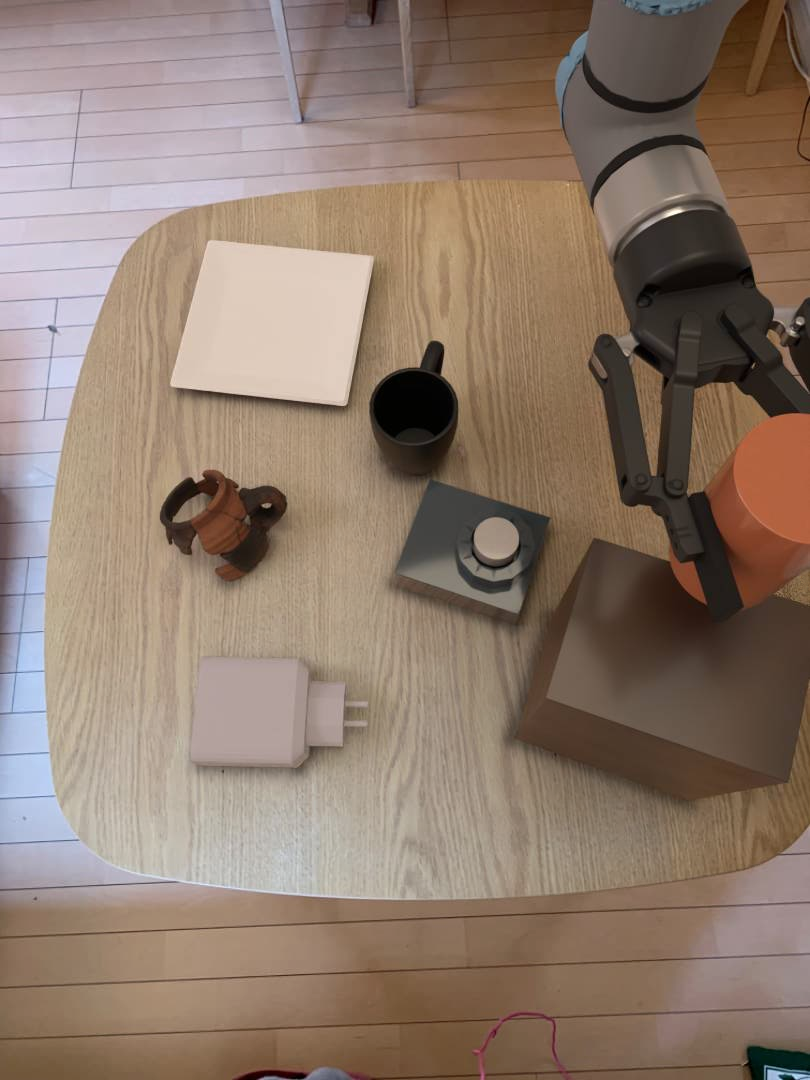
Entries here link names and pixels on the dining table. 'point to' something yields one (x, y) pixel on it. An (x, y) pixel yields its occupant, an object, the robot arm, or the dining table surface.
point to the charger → (265, 712)
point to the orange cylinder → (761, 510)
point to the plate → (274, 322)
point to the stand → (668, 680)
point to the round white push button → (495, 541)
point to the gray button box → (468, 553)
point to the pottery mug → (225, 521)
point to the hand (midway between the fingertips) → (799, 600)
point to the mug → (415, 414)
